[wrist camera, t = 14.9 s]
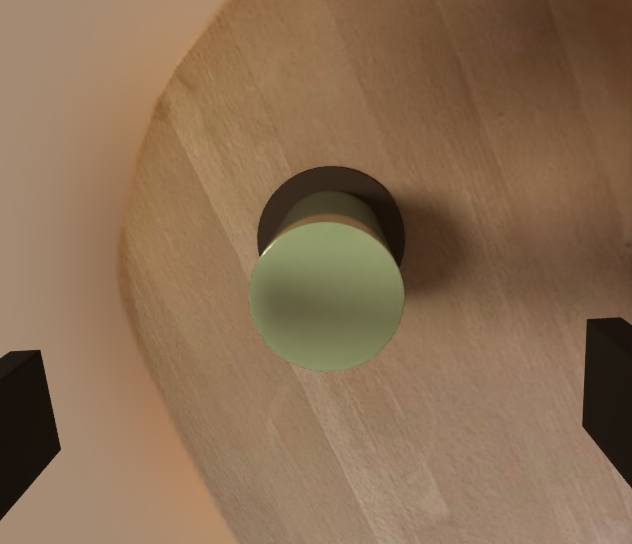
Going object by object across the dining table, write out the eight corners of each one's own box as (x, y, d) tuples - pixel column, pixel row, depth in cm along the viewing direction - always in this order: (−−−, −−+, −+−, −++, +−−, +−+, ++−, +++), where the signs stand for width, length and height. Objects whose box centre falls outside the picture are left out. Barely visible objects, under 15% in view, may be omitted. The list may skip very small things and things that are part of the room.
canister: (274, 194, 35) (240, 227, 23) (380, 187, 34) (401, 216, 23) (283, 296, 36) (256, 375, 25) (385, 290, 36) (407, 368, 24)
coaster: (251, 171, 35) (250, 172, 34) (401, 160, 34) (402, 161, 34) (265, 313, 37) (264, 315, 37) (406, 305, 36) (407, 307, 36)
